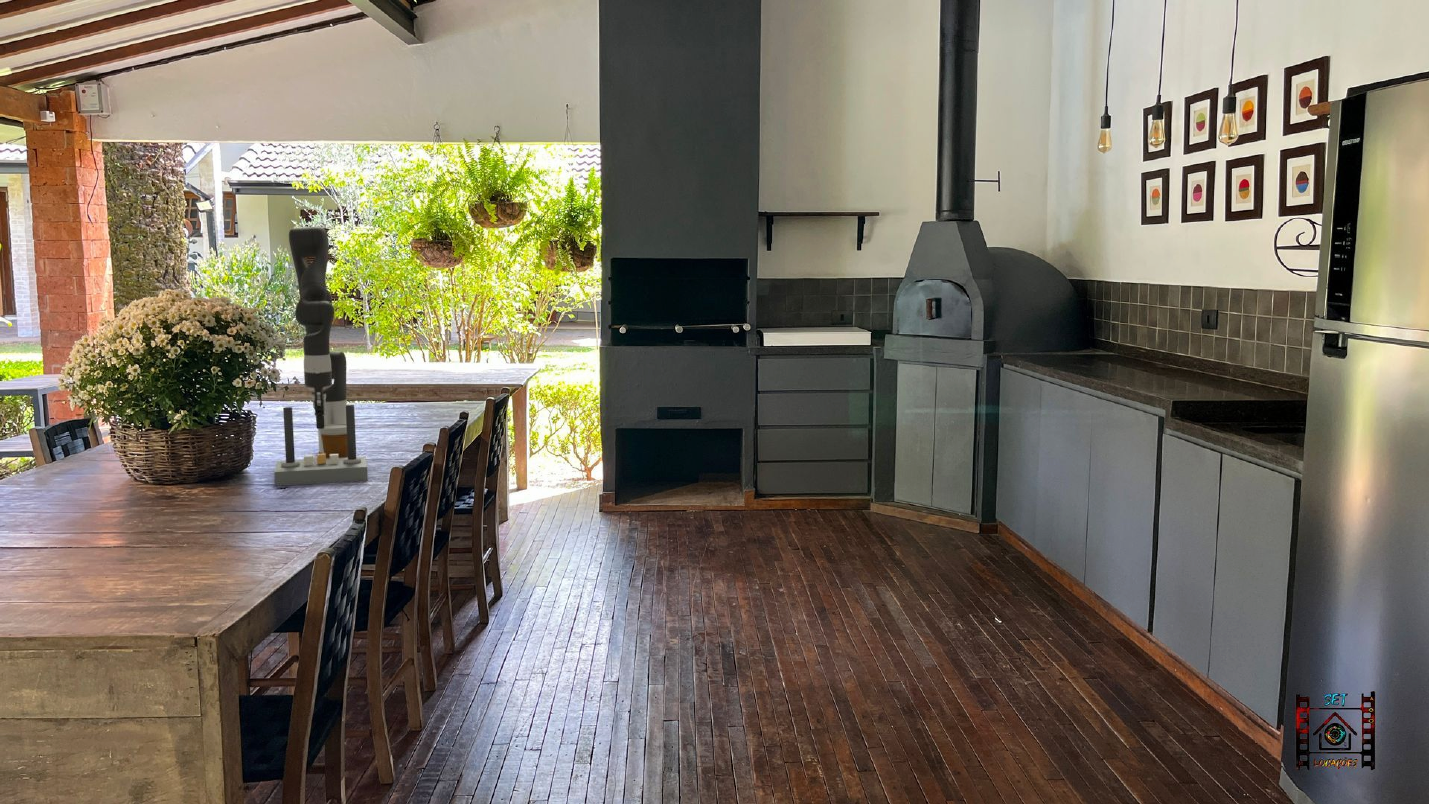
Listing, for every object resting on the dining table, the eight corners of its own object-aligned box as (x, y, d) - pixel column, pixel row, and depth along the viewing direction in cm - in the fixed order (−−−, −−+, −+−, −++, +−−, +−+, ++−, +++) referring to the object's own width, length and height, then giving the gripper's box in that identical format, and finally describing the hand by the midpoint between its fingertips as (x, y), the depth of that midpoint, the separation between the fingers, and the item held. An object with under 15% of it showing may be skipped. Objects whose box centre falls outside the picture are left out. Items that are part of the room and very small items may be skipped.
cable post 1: (281, 464, 314) (278, 406, 312) (300, 463, 316) (297, 406, 313) (280, 467, 310) (277, 409, 307) (299, 466, 311) (296, 408, 309)
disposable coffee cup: (346, 467, 330) (345, 428, 329) (315, 466, 331) (314, 428, 329) (357, 461, 340) (355, 423, 338) (327, 460, 340) (325, 423, 338)
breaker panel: (277, 474, 320) (276, 452, 319) (366, 469, 328) (365, 447, 327) (274, 485, 305) (273, 463, 304) (367, 480, 313) (366, 458, 312)
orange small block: (317, 462, 316) (316, 453, 316) (326, 462, 317) (325, 453, 316) (317, 463, 314) (316, 455, 314) (325, 463, 315) (325, 454, 315)
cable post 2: (343, 461, 320) (340, 404, 317) (361, 460, 321) (358, 403, 319) (343, 464, 315) (340, 406, 313) (361, 463, 317) (359, 406, 314)
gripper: (304, 367, 319) (307, 425, 321) (303, 373, 306) (306, 433, 309) (331, 366, 321) (334, 424, 324) (331, 372, 309) (334, 431, 312)
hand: (320, 428), depth 316 cm, fingers closed
